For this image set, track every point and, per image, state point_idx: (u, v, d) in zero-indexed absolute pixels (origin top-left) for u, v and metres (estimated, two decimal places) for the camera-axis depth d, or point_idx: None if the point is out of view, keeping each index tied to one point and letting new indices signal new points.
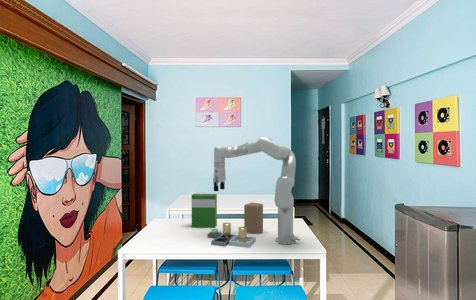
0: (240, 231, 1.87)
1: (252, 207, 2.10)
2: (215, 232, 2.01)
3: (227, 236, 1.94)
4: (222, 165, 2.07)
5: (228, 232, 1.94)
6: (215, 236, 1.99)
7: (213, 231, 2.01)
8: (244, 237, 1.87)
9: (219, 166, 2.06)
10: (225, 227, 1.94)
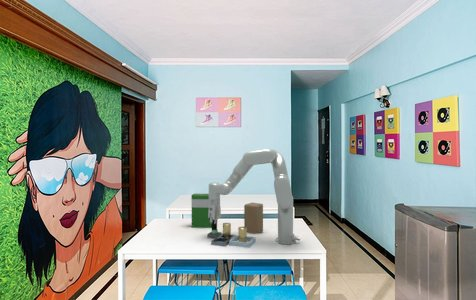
0: (240, 231, 1.87)
1: (252, 207, 2.10)
2: (215, 232, 2.01)
3: (227, 236, 1.94)
4: (217, 202, 2.00)
5: (228, 232, 1.94)
6: (215, 236, 1.99)
7: (213, 231, 2.01)
8: (244, 237, 1.87)
9: (214, 203, 1.99)
10: (225, 227, 1.94)
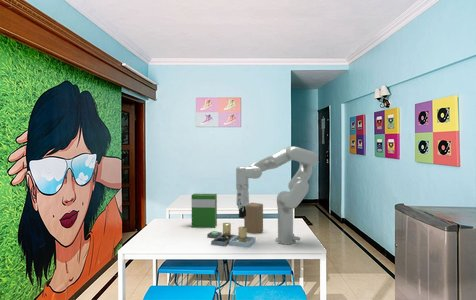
0: (240, 231, 1.87)
1: (252, 207, 2.10)
2: (215, 234, 2.01)
3: (227, 236, 1.94)
4: (246, 187, 1.85)
5: (228, 232, 1.94)
6: (215, 236, 1.99)
7: (213, 233, 2.01)
8: (244, 237, 1.87)
9: (242, 188, 1.85)
10: (225, 227, 1.94)
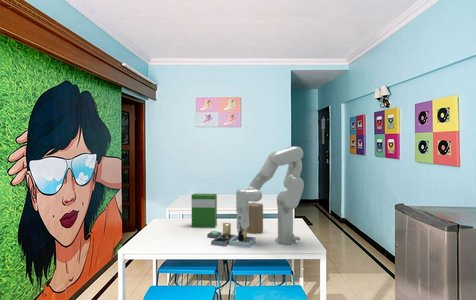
0: None
1: (252, 207, 2.10)
2: (215, 234, 2.01)
3: (227, 236, 1.94)
4: (246, 210, 1.86)
5: (228, 232, 1.94)
6: (215, 236, 1.99)
7: (213, 233, 2.01)
8: (244, 237, 1.87)
9: (243, 212, 1.85)
10: (225, 227, 1.94)
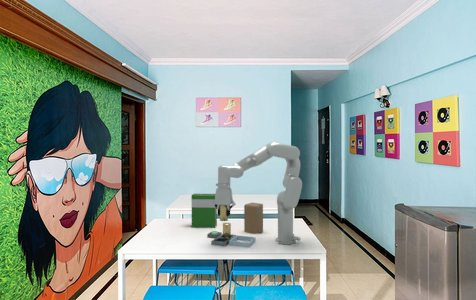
0: None
1: (252, 207, 2.10)
2: (215, 234, 2.01)
3: (227, 236, 1.94)
4: (219, 186, 1.86)
5: (228, 232, 1.94)
6: (215, 236, 1.99)
7: (213, 233, 2.01)
8: (220, 213, 1.87)
9: None
10: (225, 227, 1.94)
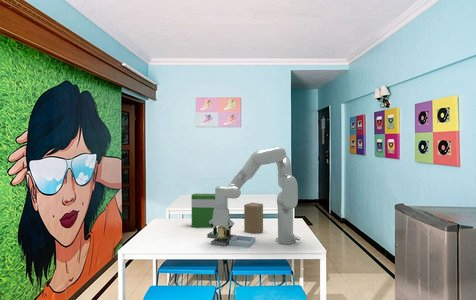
0: None
1: (252, 207, 2.10)
2: None
3: None
4: (216, 207, 1.86)
5: None
6: (215, 236, 1.99)
7: (213, 233, 2.01)
8: (218, 236, 1.88)
9: (215, 207, 1.88)
10: None
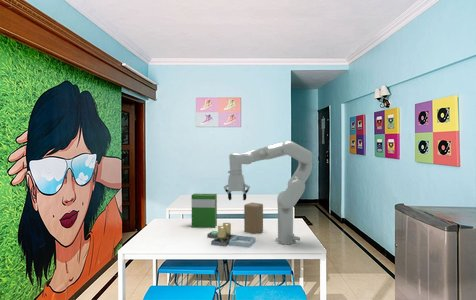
0: None
1: (252, 207, 2.10)
2: (215, 234, 2.01)
3: (227, 236, 1.94)
4: (231, 173, 1.93)
5: (228, 232, 1.94)
6: (215, 236, 1.99)
7: (213, 233, 2.01)
8: (218, 235, 1.88)
9: (230, 174, 1.95)
10: None
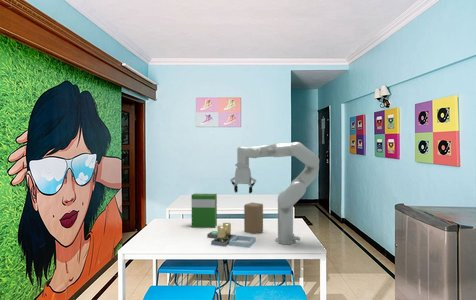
0: None
1: (252, 207, 2.10)
2: (215, 234, 2.01)
3: (227, 236, 1.94)
4: (238, 166, 1.96)
5: (228, 232, 1.94)
6: (215, 236, 1.99)
7: (213, 233, 2.01)
8: None
9: (237, 167, 1.98)
10: None
